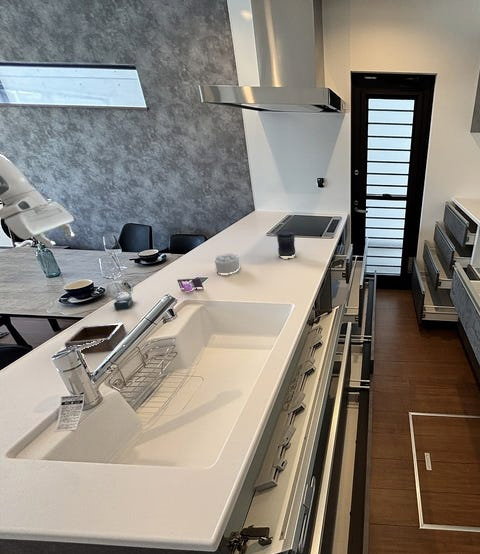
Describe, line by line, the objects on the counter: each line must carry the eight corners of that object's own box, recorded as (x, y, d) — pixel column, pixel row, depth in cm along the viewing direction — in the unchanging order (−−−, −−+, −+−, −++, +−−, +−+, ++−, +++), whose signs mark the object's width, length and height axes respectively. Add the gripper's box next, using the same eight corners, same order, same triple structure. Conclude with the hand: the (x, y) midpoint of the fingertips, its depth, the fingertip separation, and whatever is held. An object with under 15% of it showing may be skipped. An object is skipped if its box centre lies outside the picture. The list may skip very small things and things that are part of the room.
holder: (69, 354, 94) (64, 343, 93) (86, 337, 103) (82, 326, 101) (112, 350, 97) (108, 339, 96) (126, 333, 106) (123, 323, 104)
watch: (135, 308, 121) (127, 283, 117) (110, 311, 118) (101, 285, 114) (138, 301, 126) (131, 277, 122) (115, 304, 123) (106, 279, 119)
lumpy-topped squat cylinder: (241, 266, 165) (239, 251, 161) (235, 276, 153) (233, 260, 149) (221, 267, 163) (218, 251, 159) (213, 276, 151) (211, 260, 148)
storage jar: (284, 252, 188) (282, 229, 182) (298, 255, 185) (297, 231, 179) (275, 257, 179) (273, 233, 173) (289, 260, 176) (288, 235, 170)
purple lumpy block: (200, 277, 135) (177, 278, 133) (198, 285, 131) (174, 286, 129) (204, 287, 139) (182, 289, 137) (202, 295, 136) (179, 297, 133)
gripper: (44, 201, 108) (74, 235, 114) (-10, 215, 90) (30, 255, 96) (60, 194, 108) (90, 229, 114) (10, 207, 90) (49, 247, 96)
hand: (62, 241), depth 105 cm, fingers open, 8 cm apart
